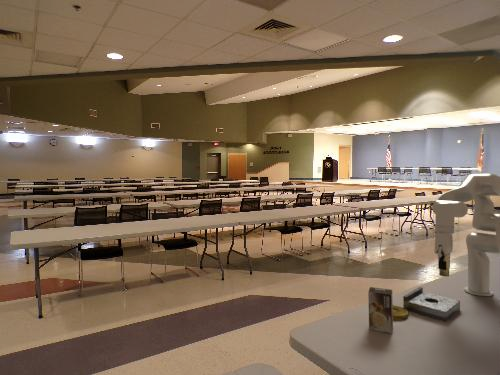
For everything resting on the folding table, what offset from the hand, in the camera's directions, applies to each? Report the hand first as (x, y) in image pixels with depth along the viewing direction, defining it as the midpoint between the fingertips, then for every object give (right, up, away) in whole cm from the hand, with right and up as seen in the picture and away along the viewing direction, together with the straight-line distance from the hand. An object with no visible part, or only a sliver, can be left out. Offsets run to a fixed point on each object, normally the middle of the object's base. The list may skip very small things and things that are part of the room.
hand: (444, 268), depth 153 cm
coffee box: (-35, -22, -15) cm, 44 cm away
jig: (-5, -20, +2) cm, 21 cm away
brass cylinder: (0, -3, 0) cm, 3 cm away
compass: (-24, -21, -2) cm, 32 cm away
